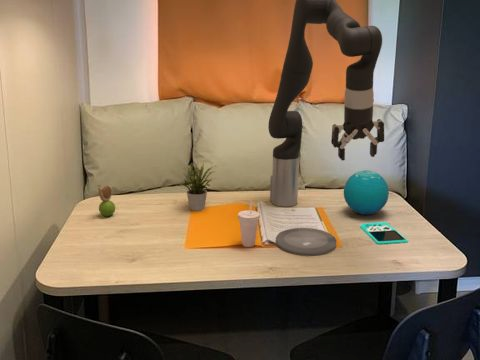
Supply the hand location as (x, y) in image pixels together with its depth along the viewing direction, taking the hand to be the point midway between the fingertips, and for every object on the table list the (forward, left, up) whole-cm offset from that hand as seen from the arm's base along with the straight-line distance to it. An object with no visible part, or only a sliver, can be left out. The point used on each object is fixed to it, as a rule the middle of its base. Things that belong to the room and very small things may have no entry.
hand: (357, 157), depth 155 cm
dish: (-11, -8, -27) cm, 30 cm away
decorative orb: (-16, +26, -27) cm, 41 cm away
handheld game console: (-1, +16, -28) cm, 32 cm away
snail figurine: (-68, -44, -27) cm, 86 cm away
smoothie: (-21, -22, -27) cm, 41 cm away
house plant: (-55, -15, -27) cm, 63 cm away
